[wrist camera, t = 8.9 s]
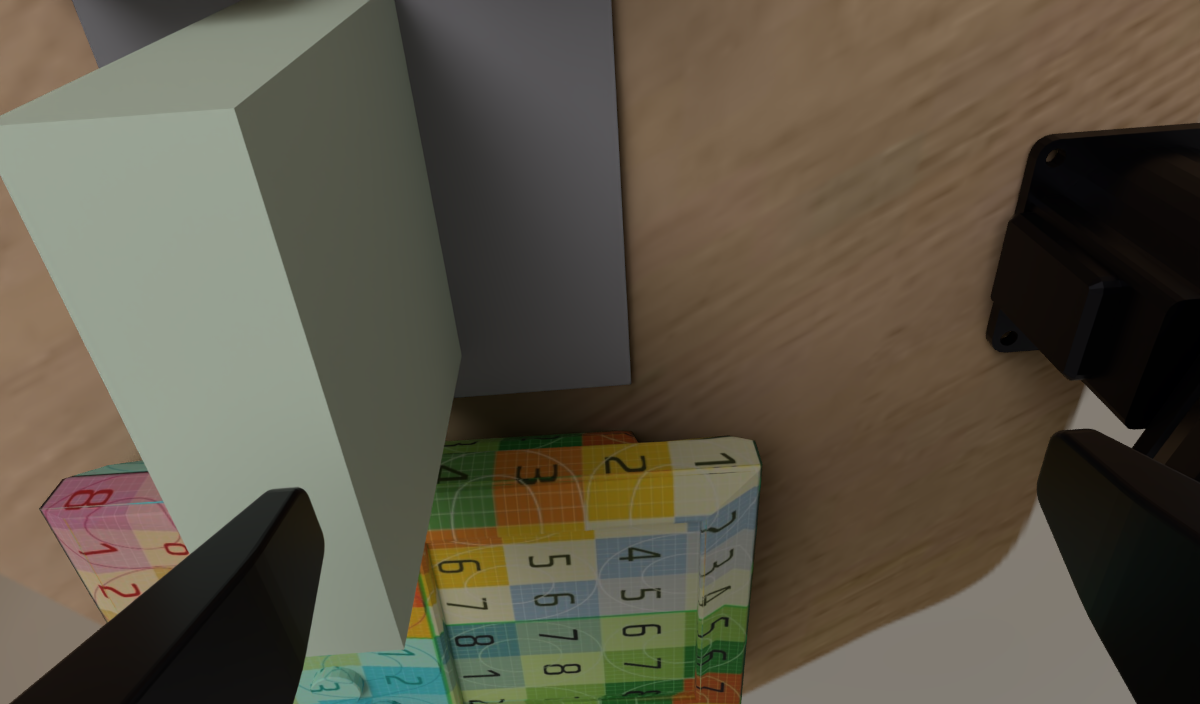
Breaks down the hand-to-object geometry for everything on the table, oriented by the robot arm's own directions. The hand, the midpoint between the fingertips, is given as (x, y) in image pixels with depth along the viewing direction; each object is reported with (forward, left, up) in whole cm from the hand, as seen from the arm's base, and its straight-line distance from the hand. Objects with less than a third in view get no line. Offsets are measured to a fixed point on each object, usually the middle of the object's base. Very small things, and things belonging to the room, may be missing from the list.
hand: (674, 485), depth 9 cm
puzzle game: (+7, +14, -13) cm, 20 cm away
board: (+6, +1, -12) cm, 14 cm away
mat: (+6, +1, -13) cm, 14 cm away
